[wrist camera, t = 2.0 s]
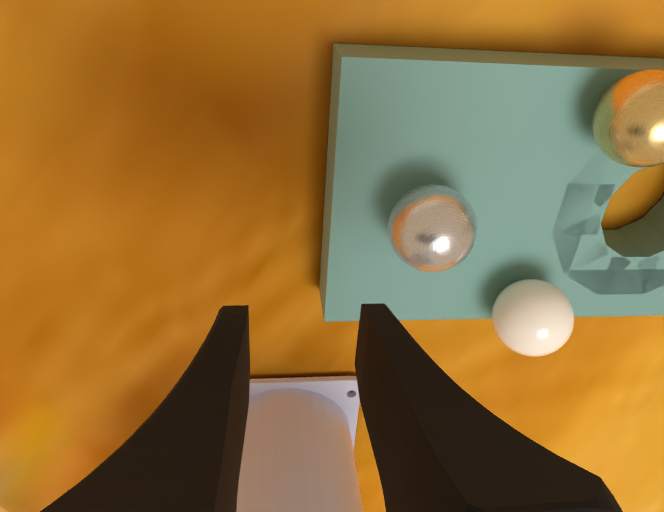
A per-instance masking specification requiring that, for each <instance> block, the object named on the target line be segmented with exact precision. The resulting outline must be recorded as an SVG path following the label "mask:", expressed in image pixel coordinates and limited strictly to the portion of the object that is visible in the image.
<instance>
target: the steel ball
mask: <svg viewBox="0 0 664 512" xmlns="http://www.w3.org/2000/svg"><path fill="white" fill-rule="evenodd" d="M388 237H389V241H390V244H391V246H392V249H393V250H394V252H395V254H396V255H397V256H398V257H399V258H400V259H401V260H402V261H403V262H404V263H405V264H407V265H408V266H410V267H412V268H414V269H416V270H419V271H423V272H441V271H445V270H448V269H451V268H453V267H455V266H456V265H458V264H459V263H460V262H462V261H463V260H464V259H465V258H466V257H467V255H468V254H469V253H470V251H471V250H472V248H473V246H474V244H475V240H476V237H477V219H476V215H475V212H474V210H473V208H472V206H471V204H470V203H469V202H468V200H467V199H466V198H465V197H464V196H463V195H462V194H460V193H459V192H458V191H456V190H454V189H452V188H450V187H447V186H444V185H439V184H428V185H422V186H418V187H416V188H413V189H411V190H410V191H408V192H407V193H405V194H404V195H403V196H402V197H401V198H400V199H399V200H398V201H397V202H396V204H395V205H394V207H393V209H392V211H391V213H390V216H389V220H388Z"/></svg>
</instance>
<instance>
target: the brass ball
mask: <svg viewBox="0 0 664 512" xmlns="http://www.w3.org/2000/svg"><path fill="white" fill-rule="evenodd" d="M592 130H593V135H594V138H595V141H596V143H597V145H598V147H599V148H600V149H601V151H602V152H603V153H604V154H605V155H606V156H607V157H609V158H610V159H612V160H613V161H615V162H617V163H619V164H622V165H625V166H629V167H638V168H644V167H652V166H656V165H660V164H663V163H664V70H653V69H650V70H643V71H639V72H635V73H632V74H630V75H627V76H625V77H623V78H622V79H620V80H619V81H617V82H616V83H614V84H613V85H612V86H611V87H610V88H609V89H608V90H607V91H606V92H605V93H604V94H603V96H602V97H601V99H600V100H599V102H598V104H597V106H596V108H595V111H594V115H593V121H592Z"/></svg>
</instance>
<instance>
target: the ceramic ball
mask: <svg viewBox="0 0 664 512" xmlns="http://www.w3.org/2000/svg"><path fill="white" fill-rule="evenodd" d="M492 323H493V327H494V330H495V332H496V334H497V336H498V337H499V339H500V340H501V341H502V342H503V343H504V344H505V345H506V346H507V347H508V348H510V349H511V350H513V351H515V352H517V353H519V354H522V355H526V356H543V355H547V354H550V353H552V352H554V351H556V350H558V349H559V348H560V347H562V346H563V345H564V344H565V343H566V341H567V340H568V339H569V337H570V335H571V333H572V330H573V326H574V313H573V308H572V306H571V303H570V301H569V300H568V298H567V297H566V295H565V294H564V293H563V292H562V291H561V290H560V289H559V288H557V287H556V286H554V285H553V284H551V283H548V282H546V281H543V280H538V279H525V280H520V281H517V282H514V283H512V284H510V285H509V286H507V287H506V288H505V289H504V290H503V291H502V292H501V293H500V294H499V295H498V297H497V299H496V300H495V303H494V305H493V310H492Z"/></svg>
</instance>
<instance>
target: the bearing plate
mask: <svg viewBox="0 0 664 512" xmlns="http://www.w3.org/2000/svg"><path fill="white" fill-rule="evenodd" d="M650 69H653V70H664V58H645V57H624V56H602V55H580V54H559V53H537V52H515V51H494V50H472V49H450V48H428V47H407V46H385V45H363V44H342V43H334V44H333V62H332V79H331V96H330V113H329V130H328V147H327V165H326V182H325V199H324V216H323V233H322V251H321V268H320V285H319V290H320V297H321V304H322V310H323V317H324V322H331V321H359V320H360V311H361V304H379V303H385V304H386V305H387V307H388V308H389V309H390V310H391V311H392V313H393V314H394V315H395V317H396V318H397V319H398V320H436V319H488V318H492V310H493V305H494V303H495V300H496V299H497V297H498V295H499V294H500V293H501V292H502V291H503V290H504V289H505V288H506V287H507V286H509V285H510V284H512V283H514V282H517V281H520V280H525V279H538V280H543V281H546V282H548V283H551V284H553V285H554V286H556V287H557V288H559V289H560V290H561V291H562V292H563V293H564V294H565V295H566V297H567V298H568V300H569V301H570V303H571V306H572V308H573V313H574V317H593V316H646V315H664V194H663V197H662V199H661V200H660V201H659V202H658V203H657V204H656V205H655V206H654V207H653V208H652V209H651V210H650V211H649V212H648V213H646V214H645V215H644V216H643V217H642V218H641V219H639V220H637V221H635V222H632V223H630V224H628V225H626V226H623V227H621V228H619V229H602V226H601V221H602V219H603V216H604V213H605V211H606V208H607V205H608V202H609V200H610V197H611V196H612V195H613V194H614V193H615V192H616V191H617V190H618V189H619V187H620V186H621V185H622V184H623V183H624V182H625V181H626V180H627V179H628V178H629V177H630V176H631V175H632V174H633V173H634V172H636V171H638V170H641V169H643V168H638V167H629V166H625V165H622V164H619V163H617V162H615V161H613V160H612V159H610V158H609V157H607V156H606V155H605V154H604V153H603V152H602V151H601V149H600V148H599V147H598V145H597V143H596V141H595V138H594V135H593V130H592V121H593V115H594V111H595V108H596V106H597V104H598V102H599V100H600V99H601V97H602V96H603V94H604V93H605V92H606V91H607V90H608V89H609V88H610V87H611V86H612V85H613V84H614V83H616V82H617V81H619V80H620V79H622V78H623V77H625V76H627V75H630V74H632V73H635V72H639V71H643V70H650ZM644 168H645V167H644ZM428 184H439V185H444V186H447V187H450V188H452V189H454V190H456V191H458V192H459V193H460V194H462V195H463V196H464V197H465V198H466V199H467V200H468V202H469V203H470V204H471V206H472V208H473V210H474V212H475V215H476V219H477V237H476V240H475V244H474V246H473V248H472V250H471V251H470V253H469V254H468V255H467V257H466V258H465V259H464V260H463V261H462V262H460V263H459V264H458V265H456V266H455V267H453V268H451V269H448V270H445V271H441V272H423V271H419V270H416V269H414V268H412V267H410V266H408V265H407V264H405V263H404V262H403V261H402V260H401V259H400V258H399V257H398V256H397V255H396V254H395V252H394V250H393V249H392V246H391V244H390V241H389V237H388V220H389V216H390V213H391V211H392V209H393V207H394V205H395V204H396V202H397V201H398V200H399V199H400V198H401V197H402V196H403V195H404V194H405V193H407V192H408V191H410V190H411V189H413V188H416V187H418V186H422V185H428Z"/></svg>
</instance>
